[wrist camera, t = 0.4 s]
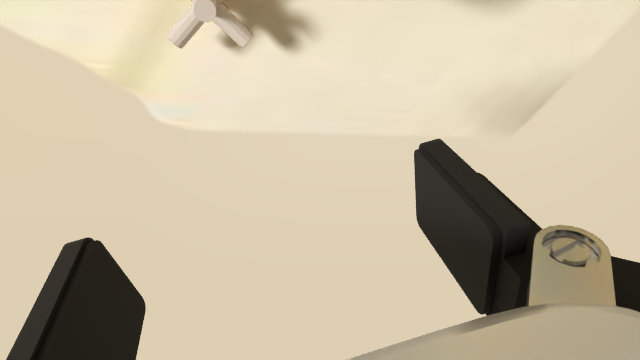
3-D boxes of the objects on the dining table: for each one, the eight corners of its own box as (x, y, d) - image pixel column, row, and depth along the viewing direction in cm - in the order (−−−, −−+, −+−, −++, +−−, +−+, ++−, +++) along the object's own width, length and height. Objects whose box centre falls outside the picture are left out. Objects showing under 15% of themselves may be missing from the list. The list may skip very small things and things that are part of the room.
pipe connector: (274, -4, 41) (288, 11, 32) (215, 62, 43) (214, 92, 35) (199, -88, 35) (192, -95, 27) (136, -7, 38) (113, 9, 29)
